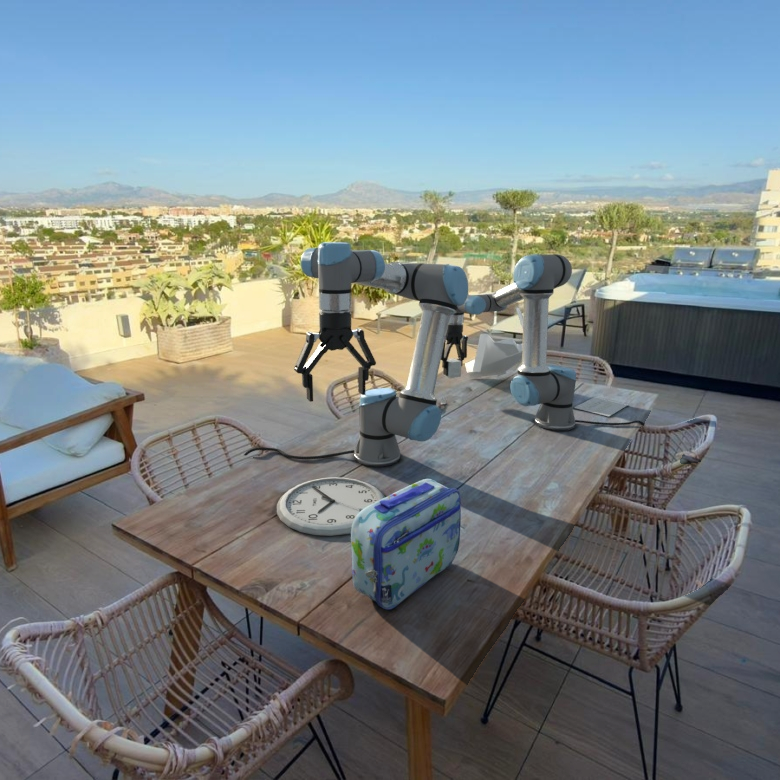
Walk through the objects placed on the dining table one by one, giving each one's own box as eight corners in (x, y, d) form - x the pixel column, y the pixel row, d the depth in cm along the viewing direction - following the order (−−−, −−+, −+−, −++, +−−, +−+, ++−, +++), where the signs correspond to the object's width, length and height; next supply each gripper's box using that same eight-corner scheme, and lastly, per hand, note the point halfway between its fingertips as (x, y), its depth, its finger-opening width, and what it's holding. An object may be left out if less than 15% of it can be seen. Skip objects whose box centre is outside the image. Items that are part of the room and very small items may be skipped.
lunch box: (380, 623, 100) (381, 528, 94) (344, 596, 108) (343, 505, 101) (464, 565, 118) (470, 482, 112) (428, 545, 125) (432, 466, 119)
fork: (432, 412, 216) (432, 407, 215) (442, 400, 230) (442, 396, 229) (438, 413, 215) (438, 408, 214) (447, 401, 229) (448, 397, 228)
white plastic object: (486, 419, 265) (465, 396, 240) (467, 347, 287) (447, 319, 262) (557, 395, 253) (543, 369, 228) (532, 321, 275) (517, 290, 250)
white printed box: (453, 373, 240) (454, 358, 238) (461, 377, 235) (462, 361, 233) (442, 375, 238) (443, 359, 236) (449, 378, 233) (450, 362, 230)
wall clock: (392, 527, 129) (268, 531, 127) (391, 533, 130) (269, 537, 127) (383, 473, 158) (282, 475, 155) (383, 478, 158) (282, 480, 156)
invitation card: (608, 416, 214) (573, 407, 224) (608, 416, 214) (573, 408, 224) (628, 404, 229) (594, 396, 238) (628, 405, 229) (594, 397, 238)
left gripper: (376, 305, 131) (376, 386, 137) (278, 311, 121) (282, 398, 127) (390, 310, 125) (388, 394, 131) (287, 316, 114) (291, 407, 121)
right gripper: (468, 320, 236) (464, 370, 243) (431, 323, 228) (429, 374, 235) (477, 323, 230) (474, 374, 237) (440, 326, 222) (438, 378, 229)
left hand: (336, 396), depth 129 cm, fingers open, 13 cm apart
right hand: (451, 374), depth 236 cm, fingers closed on white printed box, 6 cm apart
